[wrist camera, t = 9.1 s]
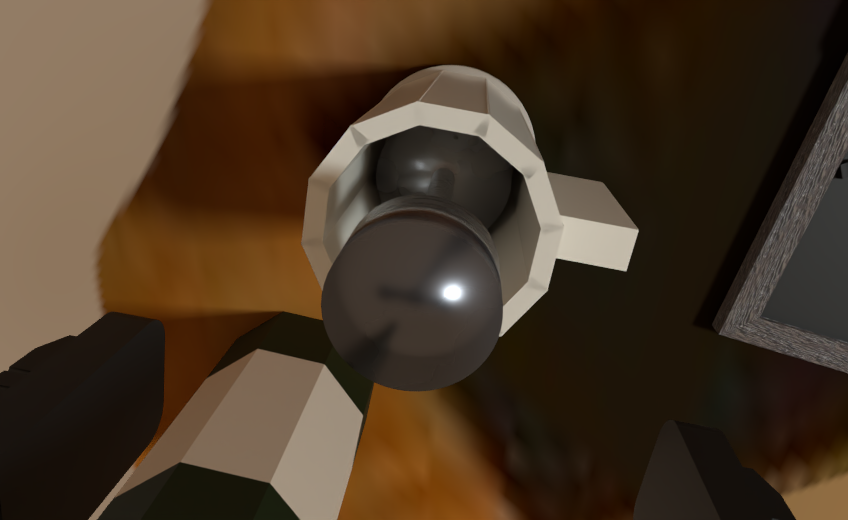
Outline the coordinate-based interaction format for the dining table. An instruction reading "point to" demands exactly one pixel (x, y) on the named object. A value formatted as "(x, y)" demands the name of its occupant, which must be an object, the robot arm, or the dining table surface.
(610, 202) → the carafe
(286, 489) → the wine bottle
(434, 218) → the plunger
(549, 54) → the dining table surface
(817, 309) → the picture frame
